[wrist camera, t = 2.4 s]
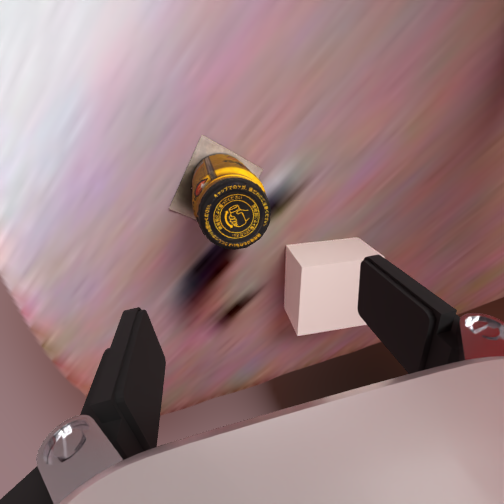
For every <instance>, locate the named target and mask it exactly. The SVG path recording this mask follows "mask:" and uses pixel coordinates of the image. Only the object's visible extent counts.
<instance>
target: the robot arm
mask: <svg viewBox="0 0 504 504" xmlns="http://www.w3.org/2000/svg"><path fill="white" fill-rule="evenodd" d="M357 309H358V313H359V315H360V317H361V318H362V319H363V320H364V322H365V323H366V324H367V325H368V326H369V327H370V329H371V330H372V331H373V332H374V333H375V334H376V336H377V337H378V338H379V339H380V340H381V341H382V343H383V344H384V345H385V346H386V347H387V349H388V350H389V351H390V352H391V353H392V354H393V355H394V357H395V358H396V359H397V360H398V361H399V363H400V364H401V365H402V366H403V367H404V368H405V370H406V371H407V372H408V373H409V374H408V375H404V376H400V377H397V378H393V379H390V380H386V381H383V382H379V383H375V384H371V385H368V386H364V387H361V388H357V389H353V390H350V391H346V392H343V393H339V394H336V395H332V396H328V397H325V398H322V399H318V400H314V401H311V402H307V403H304V404H300V405H297V406H293V407H289V408H286V409H282V410H279V411H275V412H272V413H269V414H265V415H262V416H258V417H255V418H251V419H248V420H244V421H241V422H237V423H234V424H231V425H227V426H223V427H220V428H216V429H213V430H210V431H206V432H203V433H200V434H197V435H193V436H190V437H187V438H184V439H180V440H177V441H174V442H170V443H167V444H164V445H161V446H158V447H157V438H158V429H159V420H160V411H161V402H162V393H163V384H164V375H165V365H166V362H165V356H164V354H163V351H162V349H161V346H160V344H159V341H158V339H157V336H156V334H155V331H154V329H153V326H152V324H151V321H150V319H149V316H148V314H147V311H146V310H141V309H140V308H139V307H138V308H134V309H129V310H125V311H124V312H123V314H122V317H121V319H120V322H119V325H118V328H117V331H116V333H115V336H114V339H113V342H112V344H111V347H110V348H108V349H106V350H105V352H104V354H103V356H102V359H101V362H100V364H99V367H98V370H97V372H96V375H95V377H94V380H93V383H92V385H91V388H90V391H89V393H88V396H87V398H86V401H85V404H84V406H83V409H82V412H81V414H80V415H79V416H74V417H72V418H70V419H67V420H66V421H64V422H63V423H61V424H60V425H58V426H57V427H56V428H55V429H54V430H53V431H52V432H51V433H50V434H49V435H48V436H47V437H46V439H45V440H44V441H43V443H42V445H41V447H40V448H39V450H38V454H37V458H36V461H37V467H36V468H35V469H34V470H32V471H31V472H30V473H29V474H28V475H27V476H26V477H25V478H24V479H23V480H22V481H20V482H19V483H18V484H17V485H16V486H15V487H14V488H13V489H12V490H11V491H9V492H8V493H7V494H6V495H5V496H4V497H3V498H2V499H1V500H0V504H504V322H502V321H501V320H499V319H497V318H495V317H492V316H489V315H485V314H479V313H469V314H465V315H463V316H462V317H461V318H460V317H459V316H458V315H456V311H457V310H456V309H454V308H453V307H451V306H450V305H449V304H447V303H446V302H445V301H443V300H442V299H440V298H439V297H438V296H436V295H435V294H433V293H432V292H431V291H429V290H428V289H426V288H425V287H424V286H422V285H421V284H420V283H418V282H417V281H415V280H414V279H413V278H411V277H410V276H408V275H407V274H406V273H404V272H403V271H402V270H400V269H399V268H397V267H396V266H395V265H393V264H392V263H390V262H389V261H388V260H386V259H385V258H383V257H382V256H381V255H379V254H378V255H372V256H368V257H365V258H364V260H363V261H362V262H361V265H360V279H359V293H358V308H357Z"/></svg>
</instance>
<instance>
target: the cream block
mask: <svg viewBox="0 0 504 504" xmlns="http://www.w3.org/2000/svg"><path fill="white" fill-rule="evenodd" d="M378 254H379V255H381V254H380V253H379V252H377V251H376V250H375V249H373V248H372V247H370V246H369V245H368V244H366V243H365V242H364V241H362V240H361V239H360V238H358V237H356V238H347V239H338V240H328V241H319V242H310V243H301V244H292V245H286V262H285V292H284V309H285V311H286V313H287V315H288V317H289V319H290V321H291V324H292V326H293V328H294V330H295V332H296V334H297V336H301V335H307V334H313V333H319V332H325V331H331V330H337V329H343V328H349V327H355V326H361V325H367V324H366V323H365V322H364V320H363V319H362V318H361V317H360V315H359V313H358V309H357V308H358V293H359V279H360V265H361V262H362V261H363V260H364V258H365V257H368V256H372V255H378ZM381 256H382V257H383V258H385V257H384V256H383V255H381Z"/></svg>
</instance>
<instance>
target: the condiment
mask: <svg viewBox="0 0 504 504" xmlns="http://www.w3.org/2000/svg"><path fill="white" fill-rule="evenodd" d="M262 171H263V169H261V168H260V167H258V166H256V165H254V164H253V163H251V162H249V161H247V160H246V159H244V158H242V157H240V156H239V155H237V154H235V153H233V152H232V151H230V150H228V149H226V148H225V147H223V146H221V145H219V144H218V143H216V142H214V141H212V140H210V139H209V138H207V137H205V136H203V135H201V138H200V140H199V142H198V144H197V147H196V149H195V151H194V153H193V156H192V158H191V160H190V162H189V165H188V167H187V169H186V171H185V174H184V176H183V178H182V181H181V183H180V185H179V187H178V189H177V192H176V194H175V196H174V199H173V201H172V203H171V205H170V208H169V209H170V210H173V211H175V212H178V213H180V214H183V215H185V216H187V217H190V218H192V219H195V220H197V222H198V223H199V225H200V228H201V230H202V232H203V234H204V235H206V237H207V238H208V239H209V240H210V241H211V242H212V243H214V244H216V245H218V246H220V247H222V248H226V249H234V250H235V249H241V248H246V247H249V246H250V245H251V244H253V243H255V242H256V241H257V240H259V239H260V238H261V237H262V236H263V234H264V233H265V231H266V230H267V227H268V225H269V223H270V215H271V208H270V204H269V201H268V198H267V196H266V193H265V190H264V187H263V185H262V183H261V182H260V180H259V179H258V178H259V176H260V174H261V173H262ZM191 188H192V189H191Z"/></svg>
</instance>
